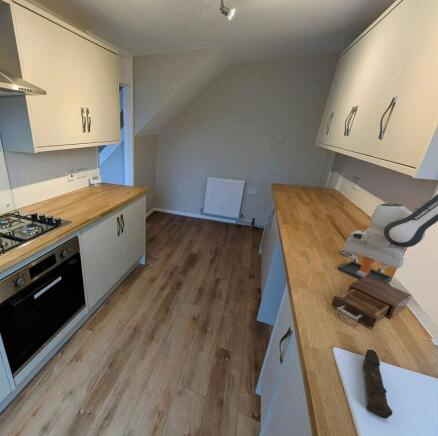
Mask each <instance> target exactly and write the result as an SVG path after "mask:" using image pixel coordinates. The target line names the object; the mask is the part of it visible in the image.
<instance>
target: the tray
mask: <svg viewBox="0 0 438 436" xmlns="http://www.w3.org/2000/svg"><path fill="white" fill-rule="evenodd" d="M361 265H362V264H360V263H359V262H358V263H357V262H353V261H352V260H351V261H349V262H346V263H344V264H342V265H339V266H338V268H337V271H339V272H340V273H343V274H345V275H348V276H350V277H353V278H354V277H355V278H354V279H357V280H360V279H362V278H364V277H362V276H360V275H357V274H356V273H357V271H359V270H360V268H361ZM367 276H368V277H371V278H373V279H376V280H378V281H380V282H383V283H385V284H387V283H389V282H390V281H391V280H392V276H390V275H388V274H385V273H383V272H382V273H381V272H378V271H377V270H375V269H372V268H371V270H370V273H369V275H367Z"/></svg>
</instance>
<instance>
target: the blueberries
mask: <svg viewBox="0 0 438 436" xmlns="http://www.w3.org/2000/svg"><path fill="white" fill-rule="evenodd" d="M340 253H341V254H342V255H344V256H345V257H348V258H351V259H353V257H352V254H351V253H352V252H351V251H348V250H344V249H343V250H342V249H340ZM356 257H357V258H358V259H359V257H358V256H357V255H356Z"/></svg>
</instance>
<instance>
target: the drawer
mask: <svg viewBox="0 0 438 436" xmlns="http://www.w3.org/2000/svg"><path fill="white" fill-rule="evenodd" d="M347 291H348V290H347ZM347 291H346V292H345V293H342V294H341V295H339V296H338V295H334V296H333V298H332V301H331V305H330V306H333V307H335V308H336V311H337V312H339V313H341V314H342V315H344V316H346V317H348V318H350V319H351V320H353V321H355V322H358V321H359V322H361V323H363V324H364V325H367V326H368V327H370V328H372V329H373V328H374V327H375V325H376V323H377V321H379V320H380V319H382V318H383V317H385V316H384V315H385V314H387V312H388V310H389V308H390V306H388V305H386V304H384V303H382V302H380V301H378V300H376V299H374V298H372V297H370V296H368V295H366V294H364V293H361V292H359V291H357V290H355V289H352V290H350V291H348V292H347Z"/></svg>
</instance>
